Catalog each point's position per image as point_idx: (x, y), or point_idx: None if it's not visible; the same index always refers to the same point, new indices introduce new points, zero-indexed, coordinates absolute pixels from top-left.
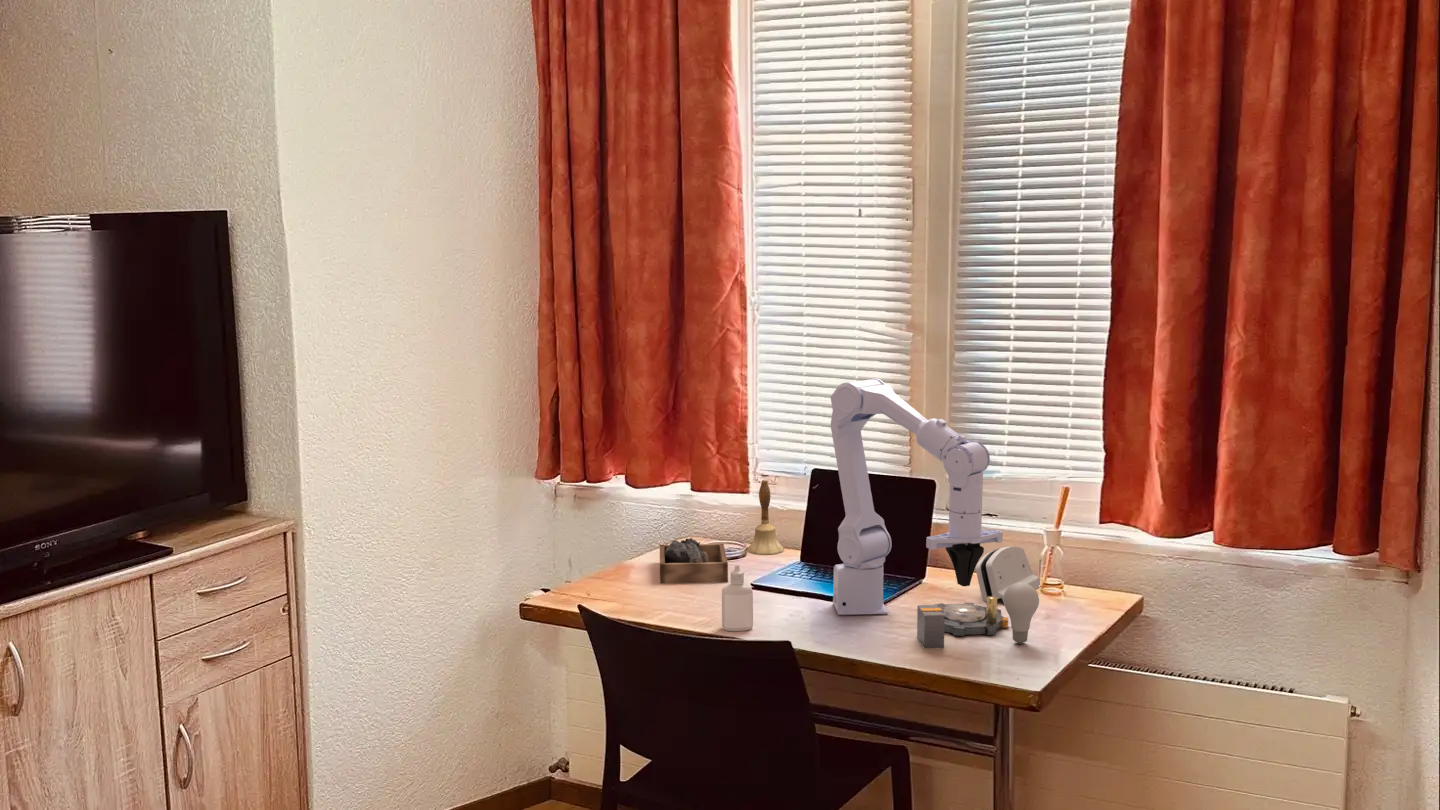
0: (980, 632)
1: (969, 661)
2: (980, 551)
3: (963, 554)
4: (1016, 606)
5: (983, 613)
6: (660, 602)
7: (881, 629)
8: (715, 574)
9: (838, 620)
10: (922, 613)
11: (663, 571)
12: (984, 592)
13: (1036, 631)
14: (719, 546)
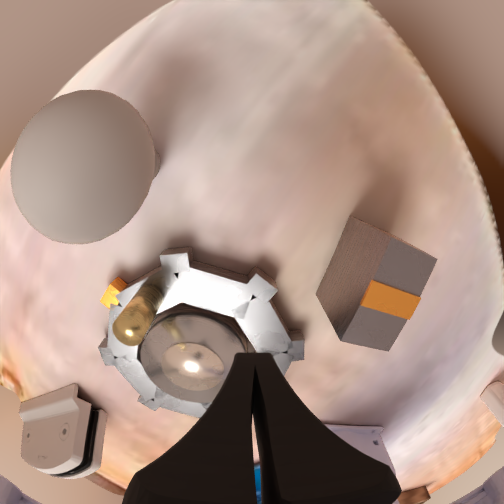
0: (203, 264)
1: (347, 105)
2: (171, 494)
3: (371, 475)
4: (136, 110)
5: (158, 327)
6: (464, 451)
7: (379, 365)
8: None
9: (398, 410)
10: (421, 287)
11: (426, 494)
12: (100, 423)
13: None
14: None
